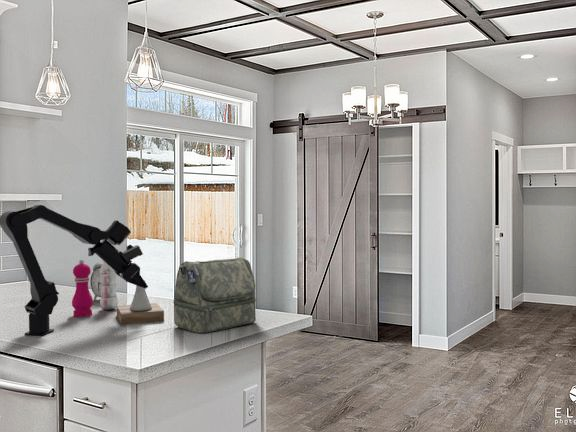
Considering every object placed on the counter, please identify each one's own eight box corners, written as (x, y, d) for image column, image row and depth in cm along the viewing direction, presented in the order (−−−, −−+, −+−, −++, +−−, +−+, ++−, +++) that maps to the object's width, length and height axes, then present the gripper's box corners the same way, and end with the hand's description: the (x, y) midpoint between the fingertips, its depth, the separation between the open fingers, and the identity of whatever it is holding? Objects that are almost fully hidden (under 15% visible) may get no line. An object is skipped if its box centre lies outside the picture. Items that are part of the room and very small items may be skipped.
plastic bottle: (99, 311, 226) (98, 257, 226) (100, 308, 233) (99, 255, 232) (118, 310, 228) (116, 257, 228) (118, 307, 235) (116, 255, 234)
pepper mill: (86, 317, 216) (85, 260, 215) (68, 316, 218) (66, 260, 217) (97, 313, 223) (95, 258, 223) (78, 313, 225) (77, 258, 224)
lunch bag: (197, 336, 185) (196, 264, 184) (165, 327, 198) (164, 259, 198) (263, 323, 203) (263, 257, 202) (230, 316, 216) (229, 254, 215)
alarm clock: (90, 299, 254) (89, 263, 254) (104, 297, 259) (103, 261, 259) (105, 302, 246) (105, 265, 246) (120, 300, 252) (119, 263, 251)
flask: (143, 306, 216) (143, 278, 216) (155, 309, 211) (155, 280, 211) (125, 309, 211) (125, 280, 211) (137, 312, 206) (137, 282, 206)
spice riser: (164, 321, 209) (163, 310, 208) (121, 324, 204) (121, 313, 203) (156, 312, 224) (156, 303, 223) (116, 315, 219) (116, 306, 218)
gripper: (132, 239, 200) (166, 271, 205) (123, 236, 217) (154, 265, 222) (108, 264, 197) (143, 296, 202) (100, 259, 214) (133, 289, 219)
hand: (144, 285), depth 211 cm, fingers open, 9 cm apart
